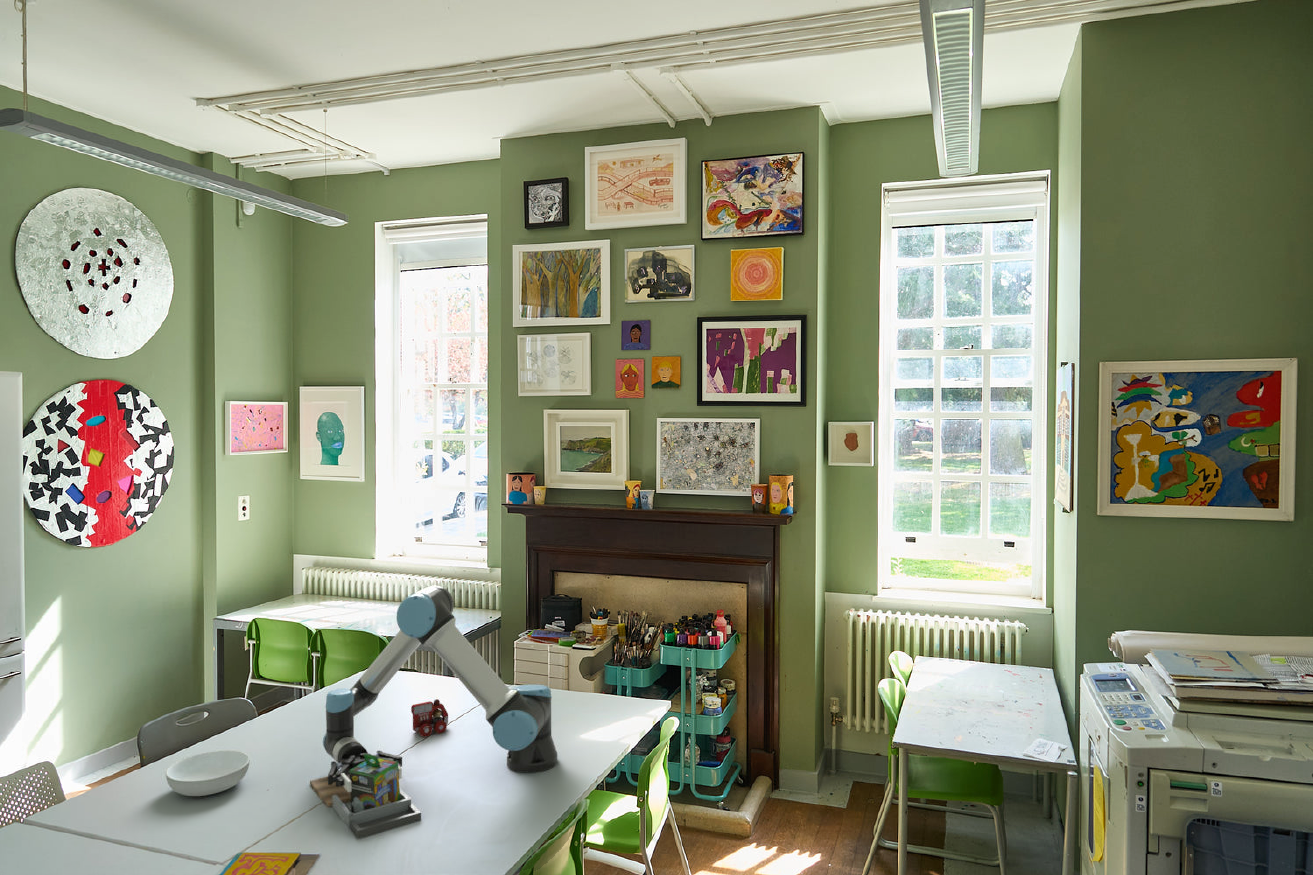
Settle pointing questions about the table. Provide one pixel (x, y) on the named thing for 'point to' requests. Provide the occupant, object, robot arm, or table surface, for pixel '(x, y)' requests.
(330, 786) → the wooden board
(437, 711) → the toy fire truck
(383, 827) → the grey open tray
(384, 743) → the table surface
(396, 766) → the chalk box
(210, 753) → the serving bowl
